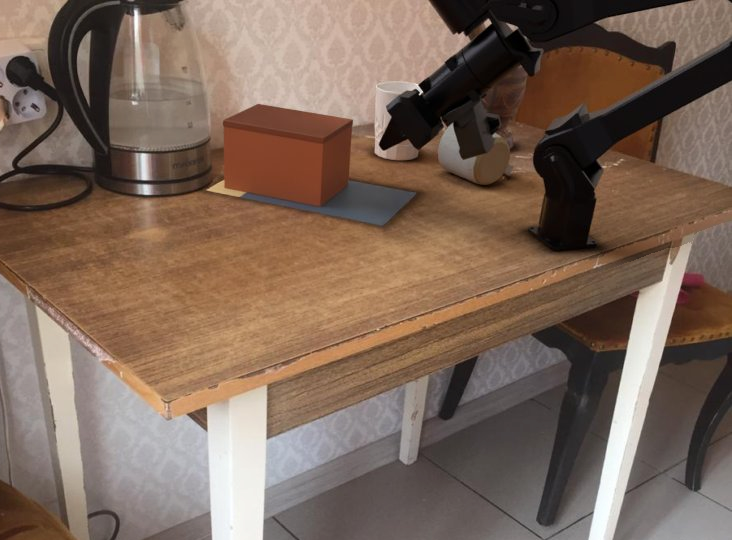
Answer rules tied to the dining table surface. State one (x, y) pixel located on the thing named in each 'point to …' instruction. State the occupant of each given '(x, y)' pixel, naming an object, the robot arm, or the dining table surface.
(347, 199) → the mat
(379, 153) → the white cup
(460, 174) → the ceramic mug
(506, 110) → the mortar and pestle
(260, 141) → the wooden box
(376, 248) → the dining table surface
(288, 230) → the dining table surface
